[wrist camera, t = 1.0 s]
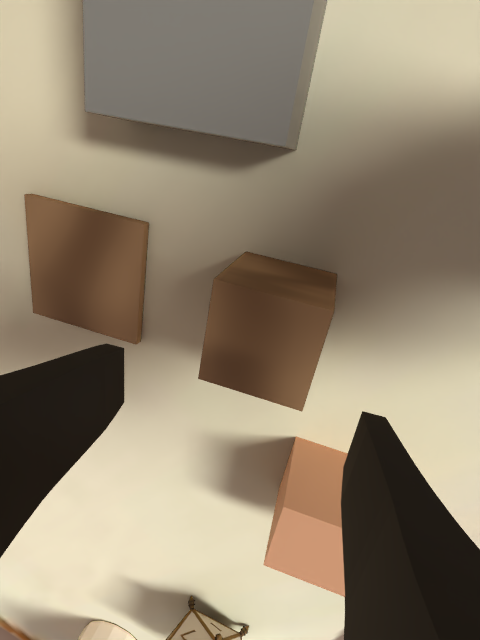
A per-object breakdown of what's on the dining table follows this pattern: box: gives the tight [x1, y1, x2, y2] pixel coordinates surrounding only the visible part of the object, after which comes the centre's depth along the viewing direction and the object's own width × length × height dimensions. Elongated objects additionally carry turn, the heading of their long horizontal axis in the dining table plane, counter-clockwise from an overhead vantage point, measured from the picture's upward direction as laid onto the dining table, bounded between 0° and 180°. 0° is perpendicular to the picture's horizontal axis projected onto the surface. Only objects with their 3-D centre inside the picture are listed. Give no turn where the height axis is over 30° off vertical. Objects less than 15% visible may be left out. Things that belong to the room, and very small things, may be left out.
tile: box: [24, 194, 149, 344], centre depth 20 cm, size 7×7×1 cm
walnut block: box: [198, 252, 337, 411], centre depth 16 cm, size 4×4×5 cm
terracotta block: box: [264, 437, 348, 597], centre depth 20 cm, size 4×4×5 cm
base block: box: [83, 0, 327, 150], centre depth 13 cm, size 8×8×4 cm
